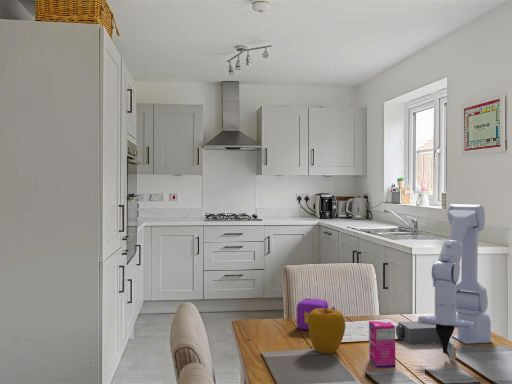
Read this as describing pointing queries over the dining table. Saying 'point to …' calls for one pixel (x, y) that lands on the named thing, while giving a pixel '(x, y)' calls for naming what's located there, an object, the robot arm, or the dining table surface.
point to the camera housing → (417, 333)
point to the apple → (326, 329)
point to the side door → (451, 350)
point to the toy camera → (308, 310)
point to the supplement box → (382, 344)
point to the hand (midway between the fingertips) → (445, 351)
